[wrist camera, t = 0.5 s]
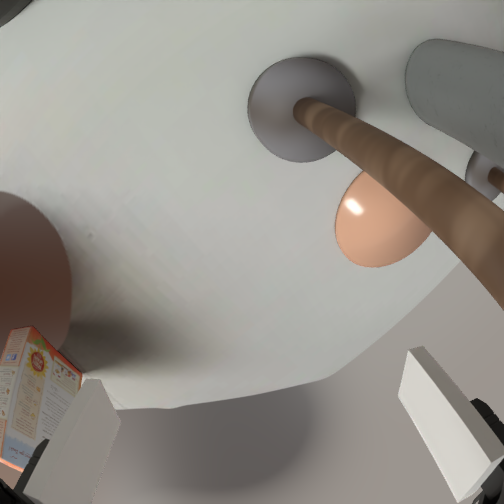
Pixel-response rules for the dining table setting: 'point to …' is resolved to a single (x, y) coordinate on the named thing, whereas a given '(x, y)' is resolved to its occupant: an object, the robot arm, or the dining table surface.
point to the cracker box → (32, 394)
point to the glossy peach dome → (376, 225)
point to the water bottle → (460, 93)
